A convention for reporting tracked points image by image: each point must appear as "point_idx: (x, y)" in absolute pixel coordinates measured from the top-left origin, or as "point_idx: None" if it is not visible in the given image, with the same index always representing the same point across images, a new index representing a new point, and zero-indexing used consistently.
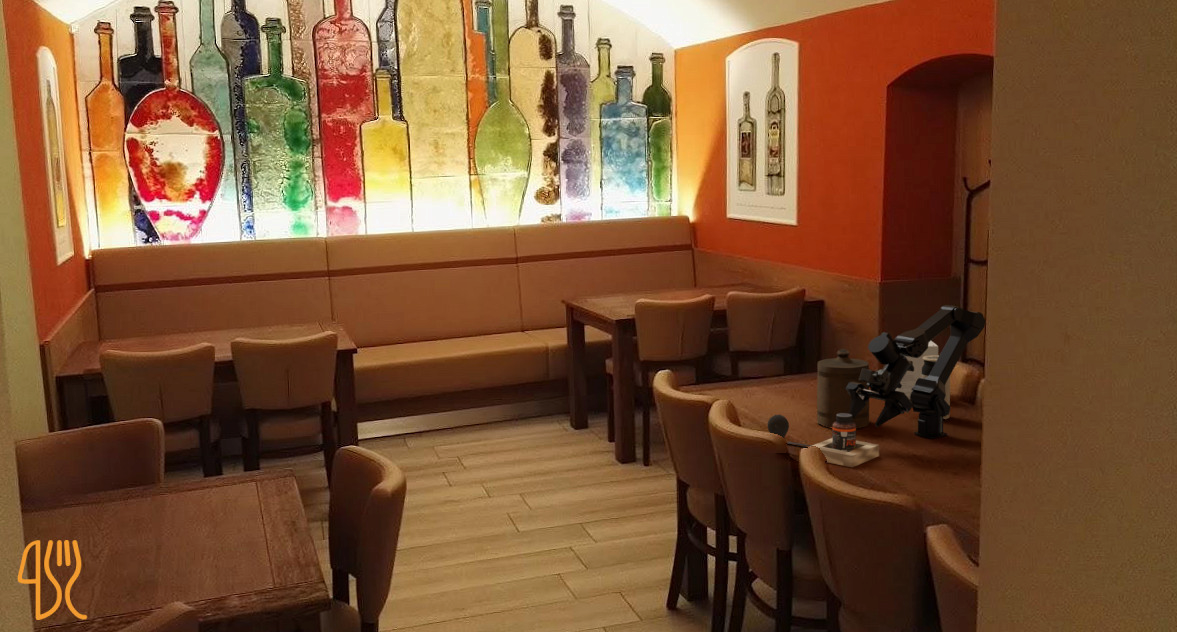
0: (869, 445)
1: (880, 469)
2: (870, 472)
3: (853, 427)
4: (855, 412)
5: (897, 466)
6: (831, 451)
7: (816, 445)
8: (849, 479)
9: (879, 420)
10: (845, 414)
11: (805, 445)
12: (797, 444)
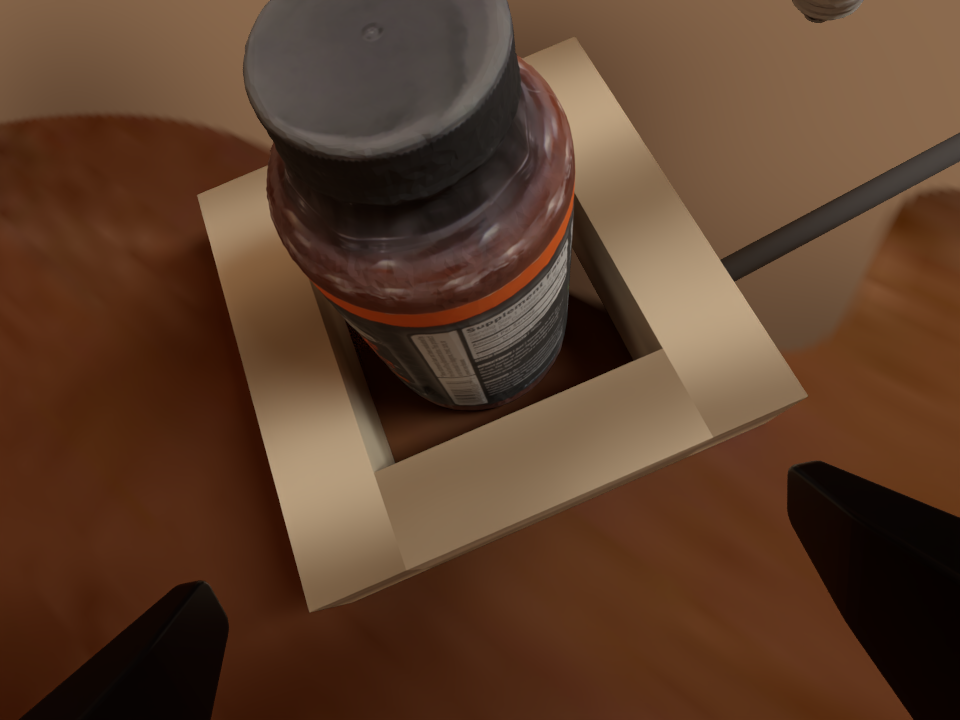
0: (347, 506)
1: (100, 384)
2: (100, 289)
3: (270, 211)
4: (919, 663)
5: (66, 543)
6: None
7: (584, 104)
8: (92, 122)
9: (102, 661)
10: (381, 60)
11: (853, 189)
12: (917, 156)
